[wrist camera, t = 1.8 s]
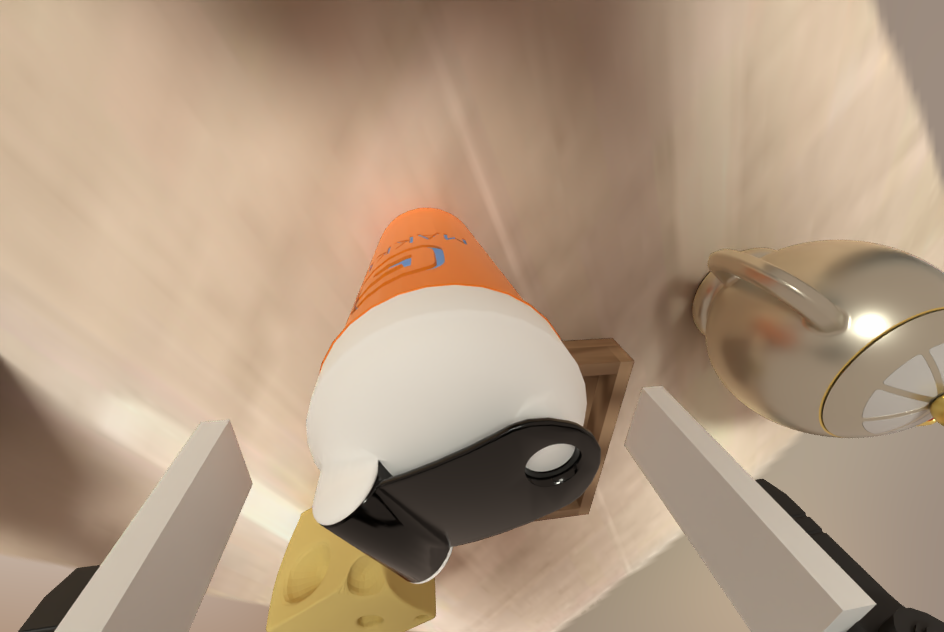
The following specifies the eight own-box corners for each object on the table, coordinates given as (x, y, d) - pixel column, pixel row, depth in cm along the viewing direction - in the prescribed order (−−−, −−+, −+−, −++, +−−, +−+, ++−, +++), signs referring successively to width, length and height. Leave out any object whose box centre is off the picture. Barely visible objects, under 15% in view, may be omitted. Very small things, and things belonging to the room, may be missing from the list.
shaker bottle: (510, 260, 28) (684, 496, 10) (423, 330, 29) (447, 634, 12) (432, 163, 24) (504, 283, 6) (337, 251, 25) (184, 536, 8)
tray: (447, 347, 31) (452, 373, 27) (612, 338, 33) (634, 361, 30) (446, 500, 40) (449, 532, 37) (575, 484, 42) (588, 514, 39)
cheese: (375, 466, 36) (365, 577, 27) (435, 515, 41) (443, 621, 32) (292, 513, 37) (258, 633, 29) (361, 555, 42) (350, 667, 34)
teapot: (835, 273, 33) (1152, 387, 19) (719, 378, 38) (909, 535, 23) (732, 150, 26) (1112, 186, 12) (604, 295, 31) (776, 448, 16)
